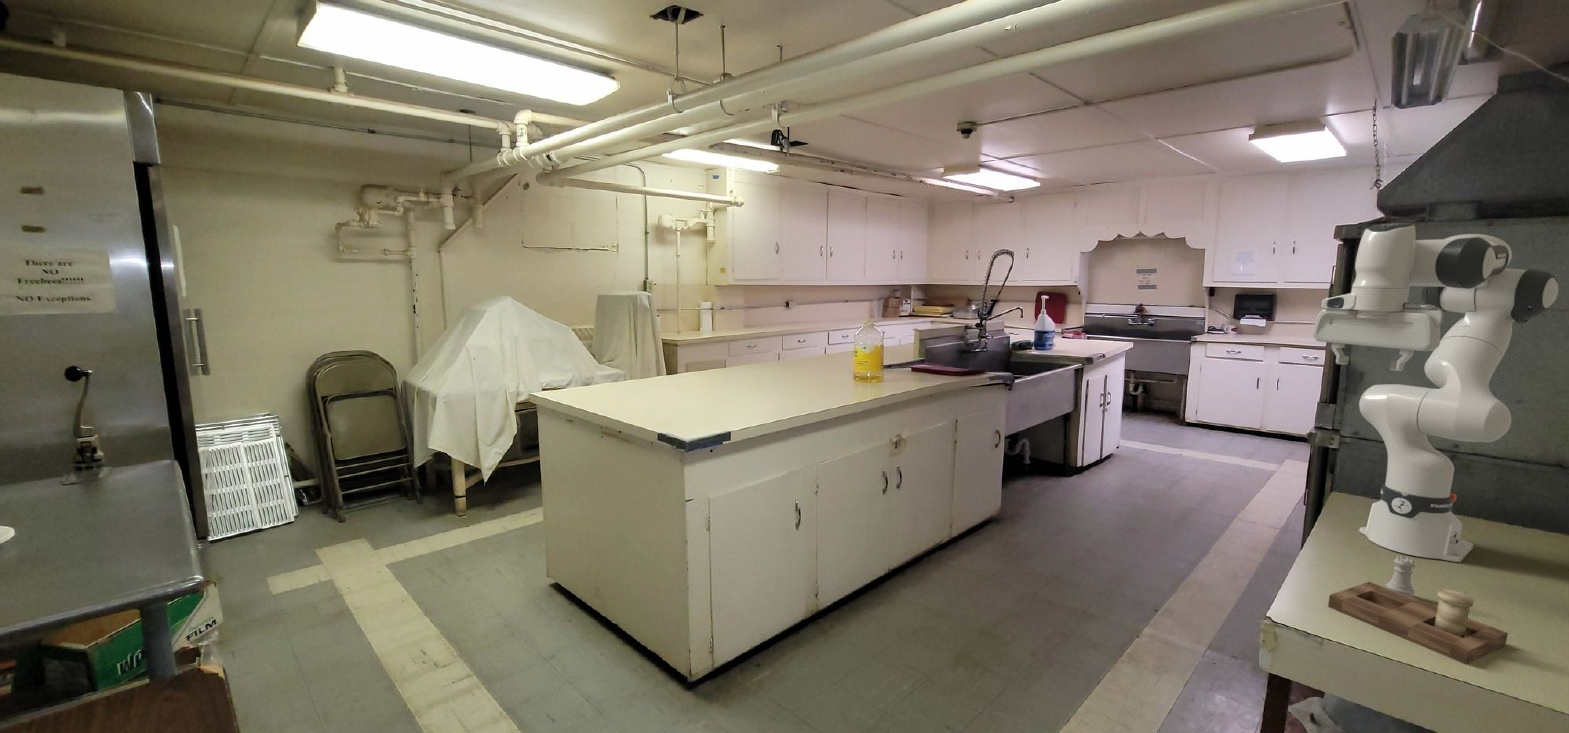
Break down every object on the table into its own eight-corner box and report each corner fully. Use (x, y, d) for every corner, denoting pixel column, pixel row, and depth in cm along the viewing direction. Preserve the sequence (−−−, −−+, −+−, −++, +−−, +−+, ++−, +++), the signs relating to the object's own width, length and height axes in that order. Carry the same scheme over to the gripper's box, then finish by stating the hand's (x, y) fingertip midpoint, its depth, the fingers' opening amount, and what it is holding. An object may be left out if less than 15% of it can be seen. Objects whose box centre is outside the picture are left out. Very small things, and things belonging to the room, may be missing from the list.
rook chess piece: (1417, 603, 127) (1423, 565, 126) (1387, 596, 129) (1393, 560, 128) (1410, 593, 131) (1416, 557, 129) (1381, 587, 133) (1387, 552, 132)
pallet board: (1367, 592, 131) (1373, 554, 129) (1505, 645, 112) (1514, 601, 111) (1328, 606, 125) (1334, 566, 124) (1466, 664, 107) (1475, 617, 106)
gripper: (1453, 304, 123) (1441, 374, 125) (1330, 299, 142) (1321, 360, 144) (1436, 305, 121) (1424, 376, 123) (1313, 300, 139) (1305, 361, 141)
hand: (1368, 367), depth 133 cm, fingers open, 8 cm apart
